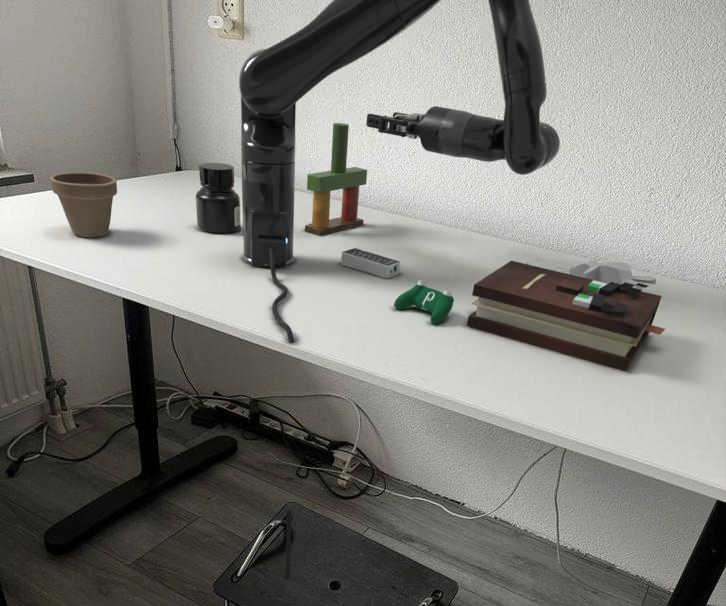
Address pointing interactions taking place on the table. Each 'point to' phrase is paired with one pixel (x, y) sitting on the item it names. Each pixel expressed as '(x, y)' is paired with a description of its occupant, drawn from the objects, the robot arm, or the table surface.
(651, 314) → the decorative book
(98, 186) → the flower pot
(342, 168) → the green peg on base
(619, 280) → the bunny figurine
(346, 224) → the rod stand
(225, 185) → the ink bottle
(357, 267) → the multiport hub
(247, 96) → the robot arm
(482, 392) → the table surface
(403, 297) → the gaming controller
